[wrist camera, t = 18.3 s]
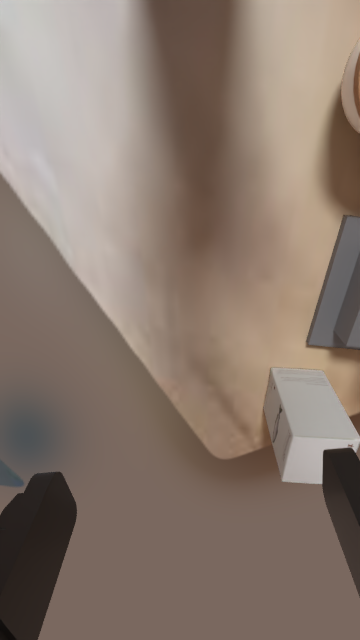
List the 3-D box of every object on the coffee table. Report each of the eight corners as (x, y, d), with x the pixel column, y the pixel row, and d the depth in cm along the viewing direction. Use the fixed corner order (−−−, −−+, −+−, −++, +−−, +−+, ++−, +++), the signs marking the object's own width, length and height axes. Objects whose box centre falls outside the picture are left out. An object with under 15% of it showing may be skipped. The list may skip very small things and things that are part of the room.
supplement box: (269, 365, 47) (293, 435, 35) (324, 369, 46) (365, 440, 35) (261, 407, 50) (280, 483, 39) (312, 411, 50) (345, 487, 39)
